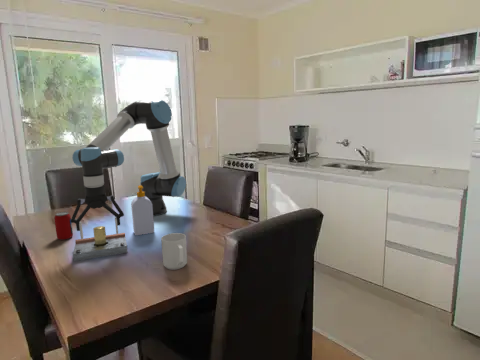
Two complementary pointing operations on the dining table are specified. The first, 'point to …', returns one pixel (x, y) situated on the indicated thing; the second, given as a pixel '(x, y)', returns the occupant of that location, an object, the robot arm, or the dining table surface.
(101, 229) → the brass cylinder
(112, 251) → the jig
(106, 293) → the dining table surface
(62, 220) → the beverage can
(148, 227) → the soap bottle
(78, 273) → the dining table surface
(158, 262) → the dining table surface
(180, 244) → the mug
